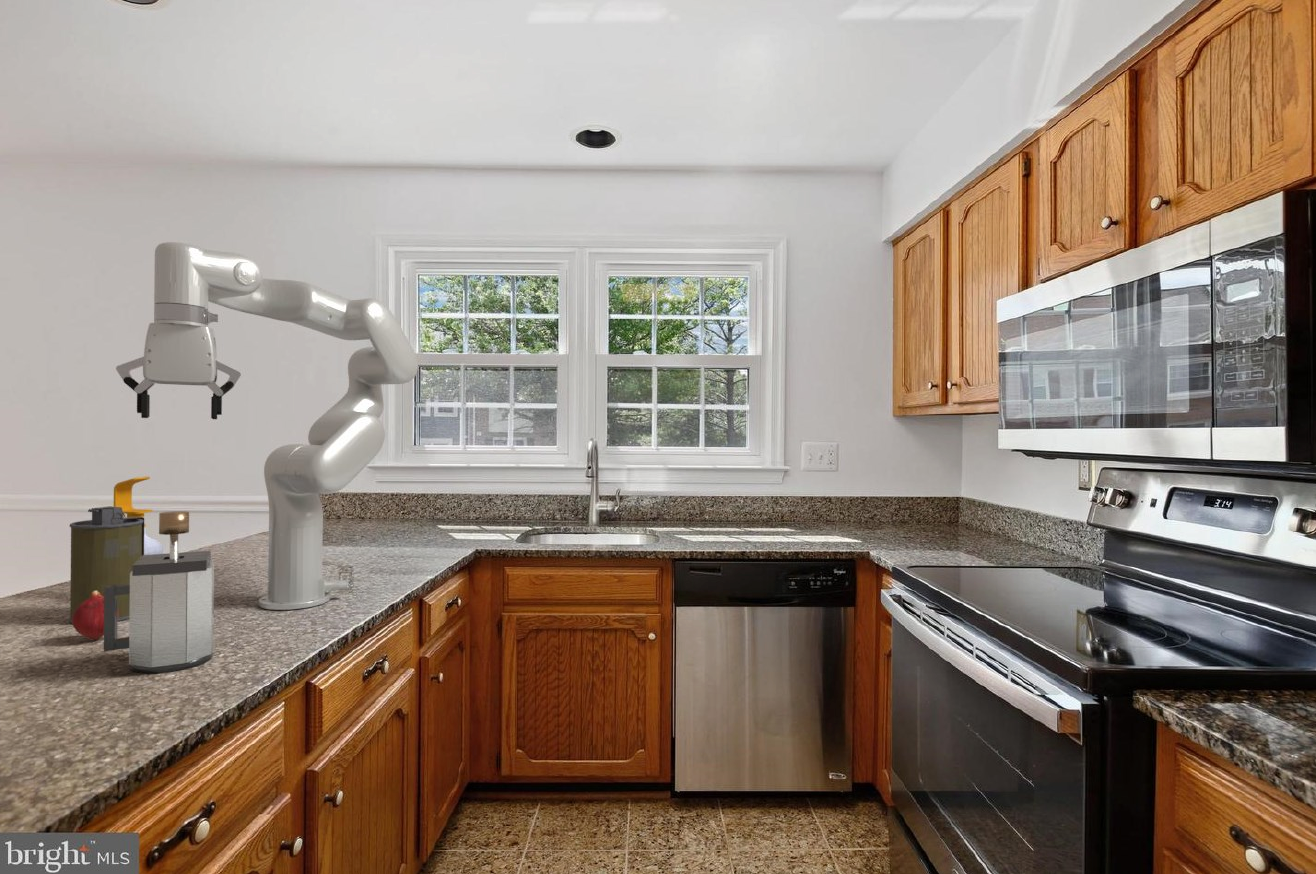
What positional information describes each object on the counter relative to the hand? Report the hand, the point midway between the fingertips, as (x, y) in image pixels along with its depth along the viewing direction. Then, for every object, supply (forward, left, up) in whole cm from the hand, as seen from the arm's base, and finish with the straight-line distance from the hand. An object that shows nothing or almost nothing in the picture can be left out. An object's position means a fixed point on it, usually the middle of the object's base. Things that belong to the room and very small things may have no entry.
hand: (180, 418), depth 114 cm
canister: (+12, -16, -36) cm, 42 cm away
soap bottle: (+10, -30, -36) cm, 48 cm away
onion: (+11, 0, -36) cm, 38 cm away
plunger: (-1, +18, -34) cm, 38 cm away
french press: (0, +18, -36) cm, 41 cm away
